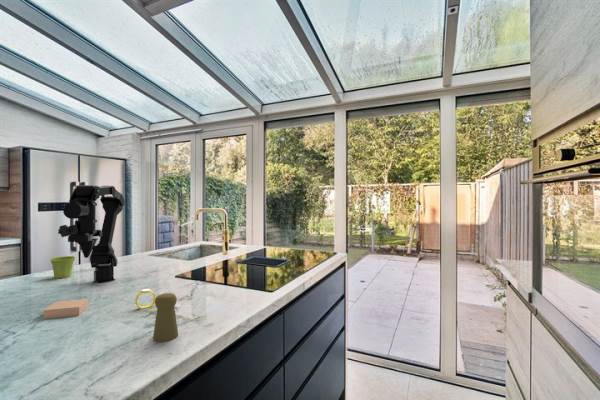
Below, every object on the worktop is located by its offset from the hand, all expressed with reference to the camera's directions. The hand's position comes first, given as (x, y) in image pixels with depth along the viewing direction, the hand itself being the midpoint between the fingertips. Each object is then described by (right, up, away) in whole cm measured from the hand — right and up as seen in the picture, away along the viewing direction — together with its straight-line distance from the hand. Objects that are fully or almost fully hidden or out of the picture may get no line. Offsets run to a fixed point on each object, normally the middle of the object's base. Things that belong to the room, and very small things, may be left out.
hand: (86, 257), depth 119 cm
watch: (+32, -13, -18) cm, 39 cm away
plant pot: (-26, -13, +22) cm, 37 cm away
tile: (+8, -12, -18) cm, 24 cm away
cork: (+48, -13, -39) cm, 63 cm away
